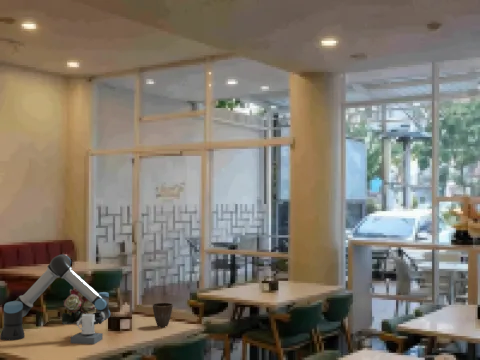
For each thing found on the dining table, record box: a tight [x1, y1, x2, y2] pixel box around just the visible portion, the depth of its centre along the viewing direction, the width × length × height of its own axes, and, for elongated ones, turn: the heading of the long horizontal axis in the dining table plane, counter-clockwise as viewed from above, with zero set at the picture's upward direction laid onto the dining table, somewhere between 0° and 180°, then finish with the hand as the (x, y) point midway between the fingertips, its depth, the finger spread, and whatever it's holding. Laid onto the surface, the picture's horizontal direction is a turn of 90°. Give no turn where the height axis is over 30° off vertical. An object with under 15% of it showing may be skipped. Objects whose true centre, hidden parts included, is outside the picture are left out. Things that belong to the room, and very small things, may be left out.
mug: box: [77, 313, 96, 334], centre depth 382 cm, size 12×8×12 cm
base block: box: [70, 331, 103, 345], centre depth 382 cm, size 16×14×4 cm
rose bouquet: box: [61, 286, 97, 325], centre depth 450 cm, size 26×29×30 cm
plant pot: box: [152, 302, 174, 328], centre depth 434 cm, size 15×15×16 cm
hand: (84, 323), depth 378 cm, fingers open, 9 cm apart
